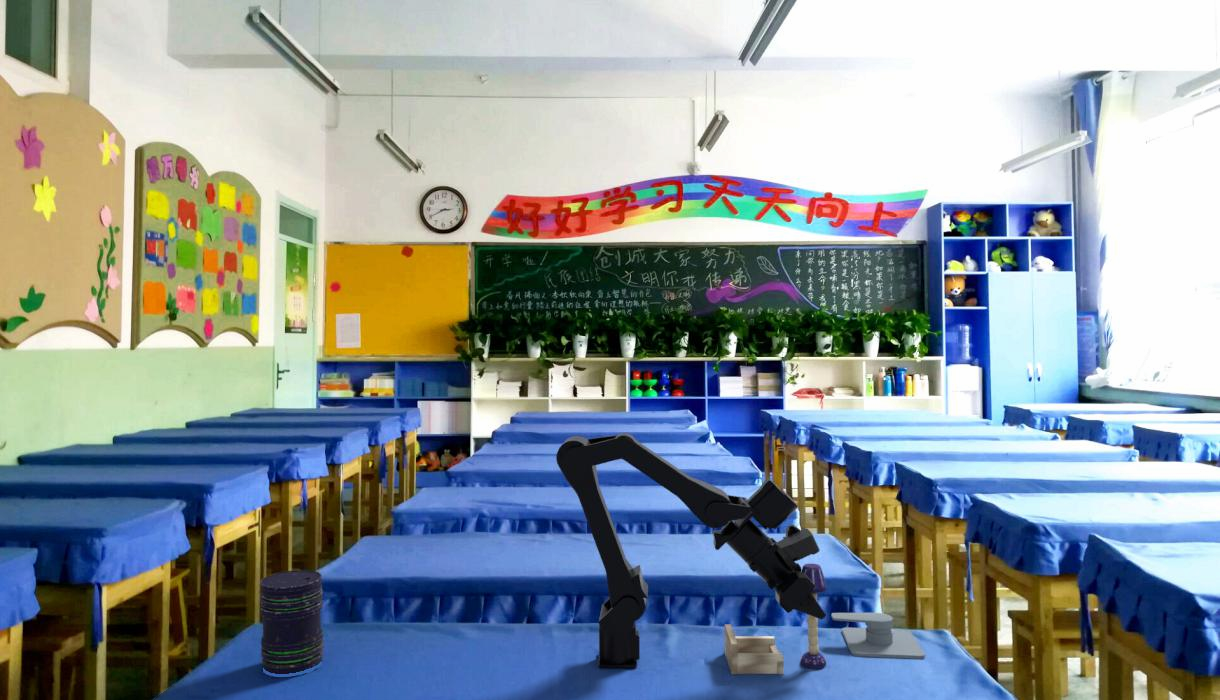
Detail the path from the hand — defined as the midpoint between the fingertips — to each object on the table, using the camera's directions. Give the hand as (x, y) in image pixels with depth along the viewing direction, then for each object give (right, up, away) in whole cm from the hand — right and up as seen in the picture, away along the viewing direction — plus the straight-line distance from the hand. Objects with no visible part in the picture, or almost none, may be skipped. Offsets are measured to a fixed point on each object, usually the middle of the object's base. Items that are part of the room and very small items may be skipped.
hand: (820, 612), depth 141 cm
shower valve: (+12, -9, +9) cm, 17 cm away
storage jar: (-89, -9, 0) cm, 90 cm away
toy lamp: (-1, -9, 0) cm, 9 cm away
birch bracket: (-11, -9, 0) cm, 14 cm away
